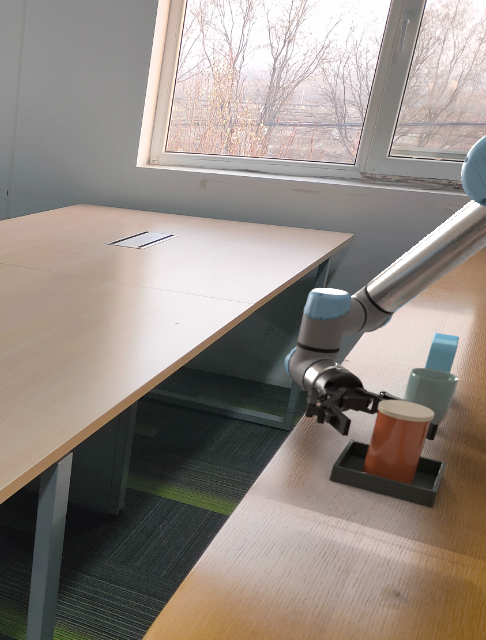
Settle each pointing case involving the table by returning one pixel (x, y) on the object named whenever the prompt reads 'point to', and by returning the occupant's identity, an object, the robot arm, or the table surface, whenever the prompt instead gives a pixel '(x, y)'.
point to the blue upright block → (442, 352)
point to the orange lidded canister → (397, 440)
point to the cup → (431, 390)
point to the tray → (419, 492)
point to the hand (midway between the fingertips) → (390, 430)
